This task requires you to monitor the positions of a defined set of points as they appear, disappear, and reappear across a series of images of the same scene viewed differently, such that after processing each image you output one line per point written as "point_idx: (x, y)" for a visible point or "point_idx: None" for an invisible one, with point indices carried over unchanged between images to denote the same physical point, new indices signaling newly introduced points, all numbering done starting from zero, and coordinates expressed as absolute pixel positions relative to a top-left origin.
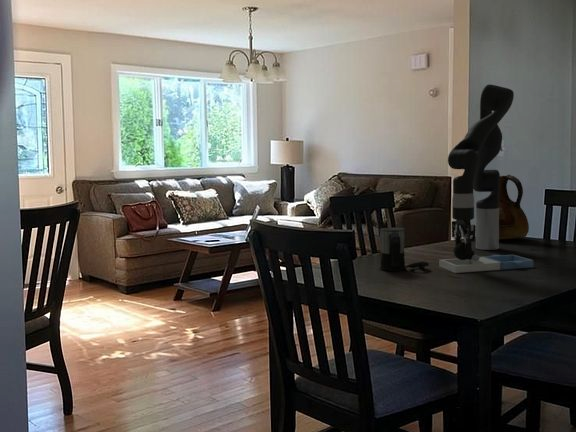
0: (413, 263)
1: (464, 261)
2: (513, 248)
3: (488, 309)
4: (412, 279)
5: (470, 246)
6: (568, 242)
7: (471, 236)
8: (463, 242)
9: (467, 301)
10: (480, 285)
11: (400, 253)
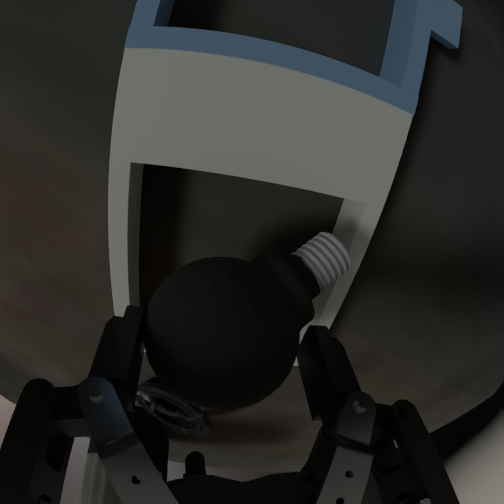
0: (195, 436)
1: (134, 205)
2: None
3: (496, 380)
4: (293, 433)
5: (350, 378)
6: None
7: (368, 445)
8: (231, 399)
9: (468, 392)
10: (458, 347)
11: (159, 469)
